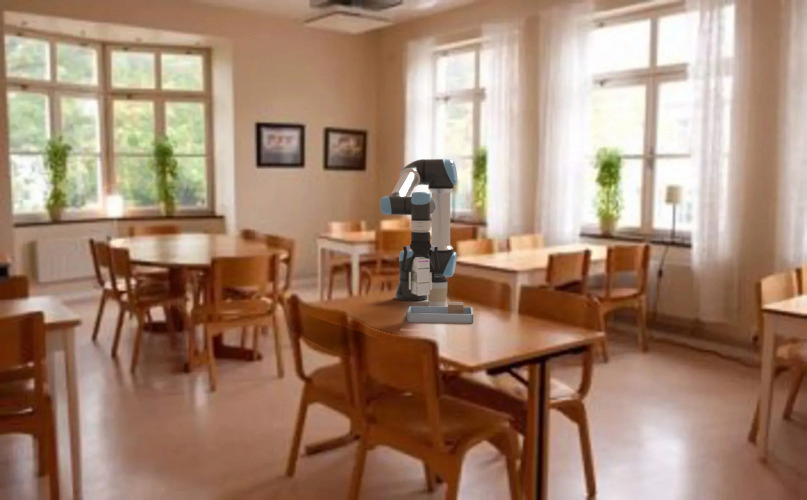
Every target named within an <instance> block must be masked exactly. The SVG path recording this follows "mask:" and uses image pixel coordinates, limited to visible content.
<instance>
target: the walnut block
mask: <svg viewBox="0 0 807 500" xmlns="http://www.w3.org/2000/svg"><path fill="white" fill-rule="evenodd" d="M447 307H448V314H463V307H464V301H448V303H447Z"/></svg>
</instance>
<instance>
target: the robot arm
mask: <svg viewBox="0 0 807 500" xmlns="http://www.w3.org/2000/svg"><path fill="white" fill-rule="evenodd" d="M398 177H399V178H398V181H397V182H396V185H395V186H394V188H393V189H392V191H391V193H390V195H385V196H382V197H381V198H380V204H379V209H380V212H381V214H382V215H388V216H393V215H394V216H401V215H402V216H404V215H405V216H410V217H411V221H410V224H411V225H410V230H411V231H412V232H411V233H410V234H411V235H410V244H409V245H403V250H402V251H400V253H399V256H398V258H399V259H398V265H399V266H398V276H399V277H398V279H399V280H398V284H397V288H396V291H395V299H396V300H398V299H399V300H398V301H405V300H406V301H407V302H408V301H409V302H414V300H419V301H424V300H423V299H425V300H428V295H423V296H417V295H414V294H411V266H412V264H413V259H415V258H416V257H423V258H426V259H429V260H430V290H432V281H434V280H435V275H442V276H445V277H446V278H451V277H453V276H454V273H455V272H456V266H457V262H458V261H457V256H458V255H457V252H456V251H454V247H453V246H452V245H451V193H452V192H453V190H454V189H455V186H457V185H458V171H457V166H456V163H455V161H454V160H453V159H448V158H447V159H446V158H438V159H437V158H433V159H432V158H431V159H424V158H423V159H422V158H421V159H417V160H414V161H412V162H410V163H408V164H406V166H405V167H403V168H402V169H401V171H400V173H399V175H398ZM421 185H422V186H423V185H424V186H428V190H429V191H430V192H429V191H414V189H415V188H416V187H417V186H421ZM430 231H431V232H430Z"/></svg>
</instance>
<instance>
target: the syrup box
mask: <svg viewBox="0 0 807 500" xmlns="http://www.w3.org/2000/svg"><path fill="white" fill-rule="evenodd" d="M411 294H414V295H417V296H423V295H430V260H429V259H426V258H423V257H416V258H415V259H413V264H412V266H411Z"/></svg>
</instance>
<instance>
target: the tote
mask: <svg viewBox="0 0 807 500" xmlns="http://www.w3.org/2000/svg"><path fill="white" fill-rule="evenodd" d="M406 322H407V323H446V324H448V323H453V324H457V323H458V324H474V307H473V306H463V314H448V306H445V307H442V306H429V305H428V306H427V305H425V306H424V305H409V307H408V309H407V311H406Z"/></svg>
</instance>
